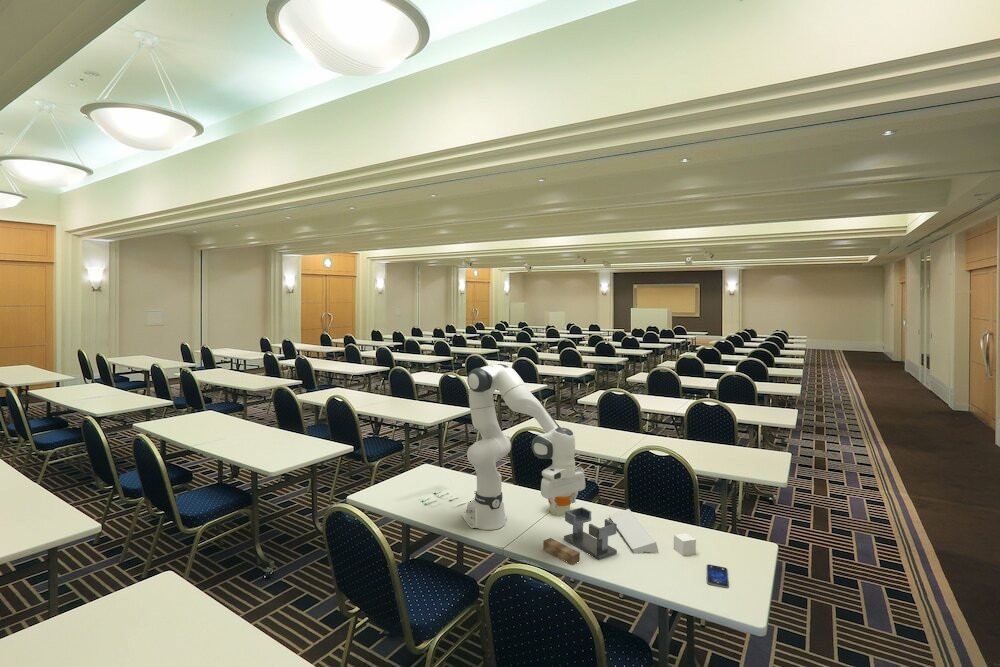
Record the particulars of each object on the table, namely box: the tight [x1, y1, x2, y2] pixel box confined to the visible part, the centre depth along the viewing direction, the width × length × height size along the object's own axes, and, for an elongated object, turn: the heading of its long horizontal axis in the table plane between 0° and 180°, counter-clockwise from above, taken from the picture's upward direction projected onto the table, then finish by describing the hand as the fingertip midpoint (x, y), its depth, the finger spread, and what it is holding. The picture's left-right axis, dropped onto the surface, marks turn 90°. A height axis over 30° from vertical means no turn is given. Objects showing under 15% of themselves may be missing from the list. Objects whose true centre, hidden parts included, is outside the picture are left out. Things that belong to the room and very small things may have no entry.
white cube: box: [672, 532, 697, 557], centre depth 207 cm, size 6×6×6 cm
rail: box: [542, 537, 581, 566], centre depth 202 cm, size 16×4×4 cm, turn 39°
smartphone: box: [706, 564, 730, 589], centre depth 187 cm, size 7×1×15 cm
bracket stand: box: [563, 506, 618, 561], centre depth 210 cm, size 21×10×12 cm, turn 33°
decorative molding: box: [608, 508, 659, 554], centre depth 222 cm, size 34×5×10 cm
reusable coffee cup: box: [547, 493, 573, 517], centre depth 245 cm, size 13×13×15 cm
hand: (563, 504), depth 201 cm, fingers open, 8 cm apart
